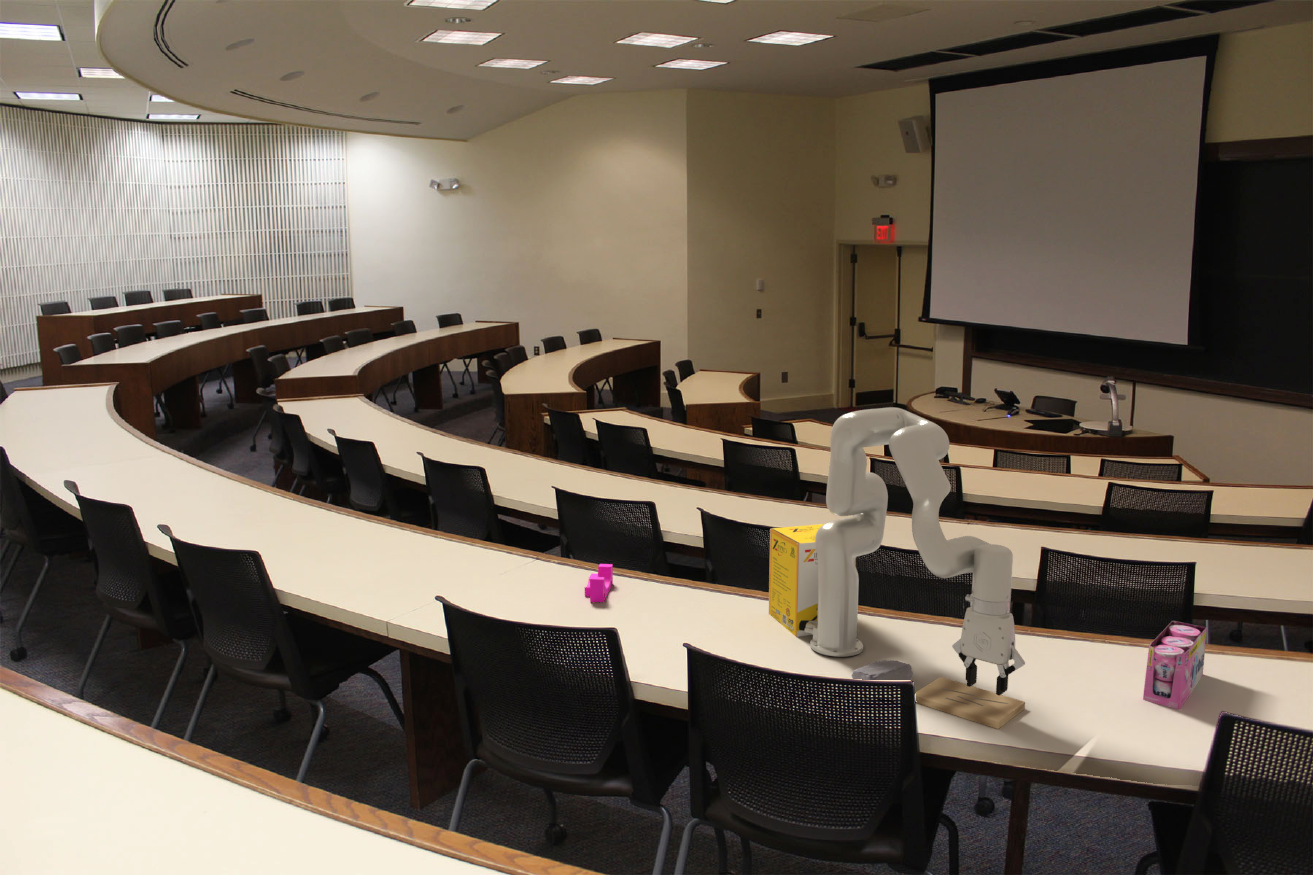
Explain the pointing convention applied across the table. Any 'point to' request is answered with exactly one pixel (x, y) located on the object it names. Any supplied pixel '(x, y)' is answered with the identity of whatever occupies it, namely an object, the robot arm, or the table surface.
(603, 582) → the toy block
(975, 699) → the board
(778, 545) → the packaging box
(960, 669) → the table surface
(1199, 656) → the gum box
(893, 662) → the stone block
